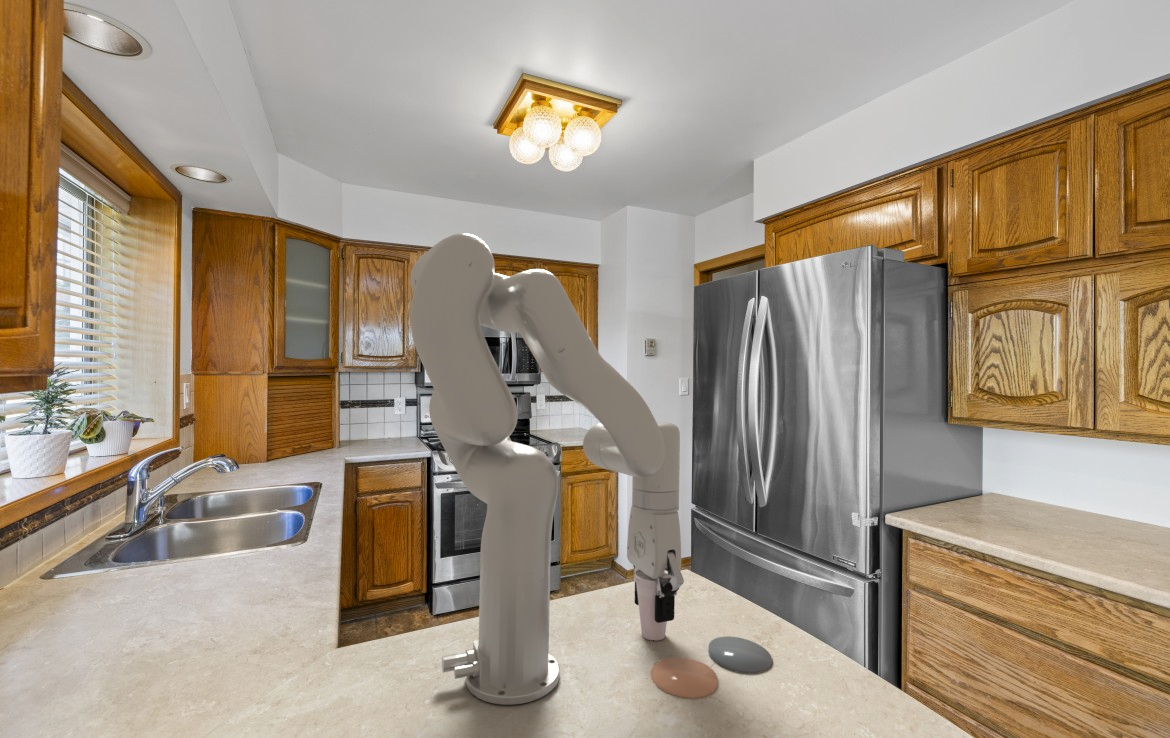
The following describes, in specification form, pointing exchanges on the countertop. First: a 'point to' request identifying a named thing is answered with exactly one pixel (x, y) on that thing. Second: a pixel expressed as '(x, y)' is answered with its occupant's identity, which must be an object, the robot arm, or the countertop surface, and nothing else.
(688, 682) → the orange brown disc
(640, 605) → the smoothie
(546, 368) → the robot arm
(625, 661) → the countertop surface
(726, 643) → the grey pebble
